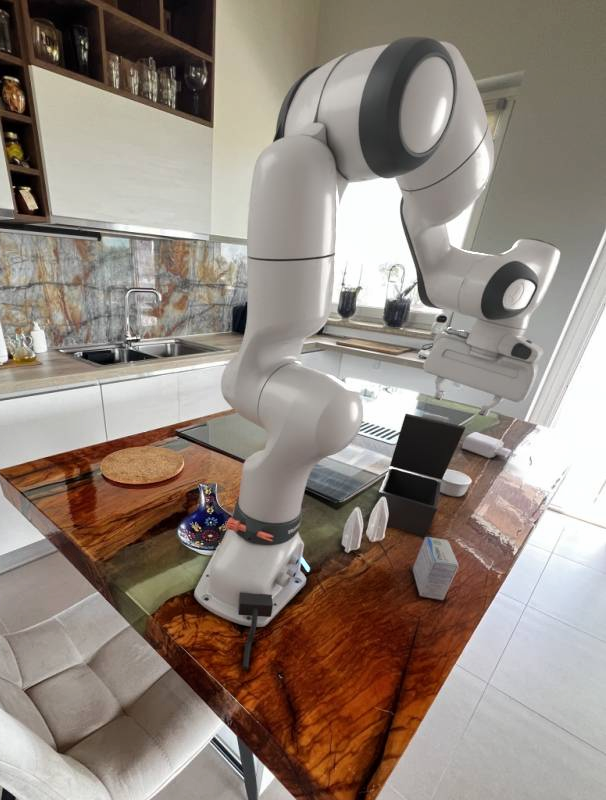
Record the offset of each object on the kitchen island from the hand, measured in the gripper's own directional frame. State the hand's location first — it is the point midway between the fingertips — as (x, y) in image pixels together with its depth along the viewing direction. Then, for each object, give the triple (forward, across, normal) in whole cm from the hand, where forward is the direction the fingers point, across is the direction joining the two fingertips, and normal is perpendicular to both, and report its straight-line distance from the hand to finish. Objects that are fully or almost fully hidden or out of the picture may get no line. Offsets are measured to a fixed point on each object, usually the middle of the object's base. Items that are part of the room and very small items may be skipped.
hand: (459, 406), depth 87 cm
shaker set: (+29, -2, -20) cm, 35 cm away
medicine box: (+28, +13, -23) cm, 38 cm away
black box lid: (+12, -3, +3) cm, 13 cm away
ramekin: (+27, +3, +22) cm, 35 cm away
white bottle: (+26, +5, +61) cm, 66 cm away
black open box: (+28, -1, -1) cm, 28 cm away
